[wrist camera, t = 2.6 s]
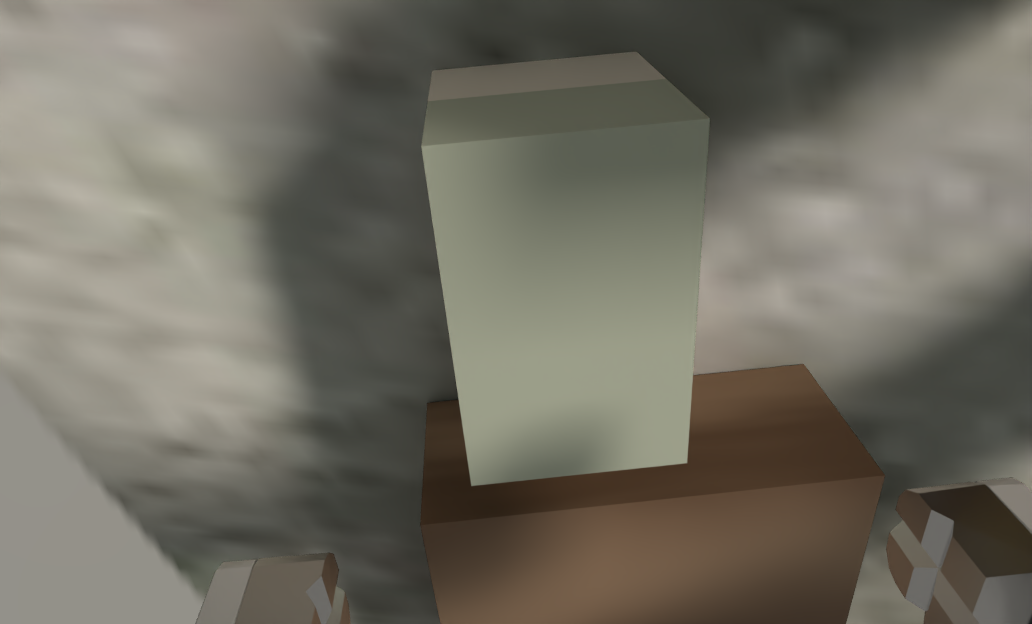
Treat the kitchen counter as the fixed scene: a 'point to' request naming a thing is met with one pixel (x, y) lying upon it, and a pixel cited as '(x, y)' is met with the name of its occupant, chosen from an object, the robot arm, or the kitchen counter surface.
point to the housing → (568, 260)
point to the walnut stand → (664, 520)
